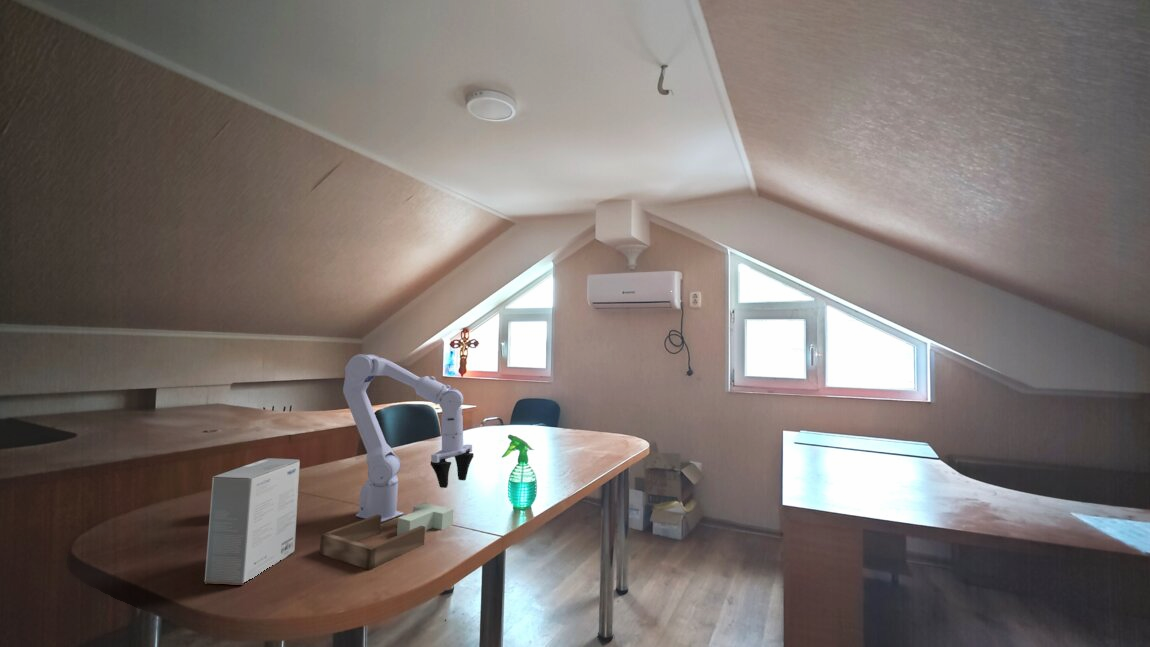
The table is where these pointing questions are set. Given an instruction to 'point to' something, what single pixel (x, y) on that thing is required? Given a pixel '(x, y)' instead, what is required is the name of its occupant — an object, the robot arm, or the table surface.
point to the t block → (426, 518)
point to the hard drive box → (251, 519)
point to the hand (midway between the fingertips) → (453, 483)
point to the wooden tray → (365, 556)
